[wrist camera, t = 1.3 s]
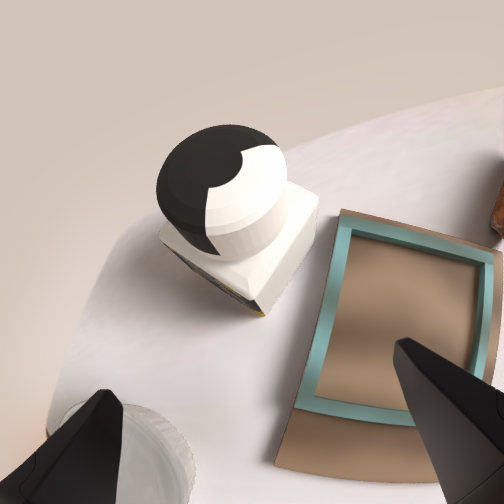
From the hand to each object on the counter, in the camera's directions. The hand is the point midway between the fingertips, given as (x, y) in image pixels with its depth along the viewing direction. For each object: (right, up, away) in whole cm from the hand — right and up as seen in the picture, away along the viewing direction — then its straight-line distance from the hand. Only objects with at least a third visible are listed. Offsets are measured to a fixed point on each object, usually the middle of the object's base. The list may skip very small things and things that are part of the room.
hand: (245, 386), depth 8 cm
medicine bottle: (0, +3, +16) cm, 16 cm away
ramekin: (-9, -13, +11) cm, 19 cm away
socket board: (+12, -4, +11) cm, 17 cm away
